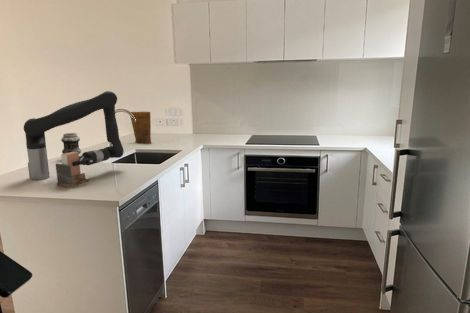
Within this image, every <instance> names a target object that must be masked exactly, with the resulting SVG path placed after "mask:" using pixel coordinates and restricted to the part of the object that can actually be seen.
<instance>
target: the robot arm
mask: <svg viewBox="0 0 470 313" xmlns="http://www.w3.org/2000/svg"><path fill="white" fill-rule="evenodd" d="M117 96H118V95H116V93H115V92H112V91H110V90H107V91H103V92H102V93H100V94H98V95H96V96H95V97H91V98H89V99H86V100H81V101H78V102H74V103H71V104H69V105H66V106H63V107H61V108H59V109H57V110H55V111H54V112H51V113H50V114H47V115H45V116H41V117H37V118H35V117H34V118H29V119H27V120H26V121H25V122H24V124H23V132H24V133H25V145H26V152H27V158H28V162H27V168H28V169H27V170H28V176H29V177H28V178H29V180H35V181H38V180H45V179H48V178H50V177H51V176H50V167H49V159H48V152H47V146H46V145H47V143H46V141H47V140H46V132H47V131H50V130H52V129H54V128H57V127H61V126H64V125H68V124H70V123H73V122H76V121H79V120H81V119H84V118H85V117H87V116H89V115H92V114H93V113H94V112H97V111H100V110H102V111H103V116H104V124H105V134H106V141H107V143H111V144H112V145H110V146H106V147H104V148H99V149H93V150H89V151H84V152H83V153H82V154H81V155H79V161H75V162H72V165H73V166H77V165H79V164H80V166H82V165H83V166H91V165H95V164H98V163H101V162H105V161H107V160H109V159H111V158H112V159H115V158H118V159H120V158H122V157H123V155H124V153H125V152H124V148H123V144H122V142H121V140H120V135H119V134H120V133H119V127H118V123H117V118H116V104H117V102H118V97H117Z"/></svg>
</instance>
